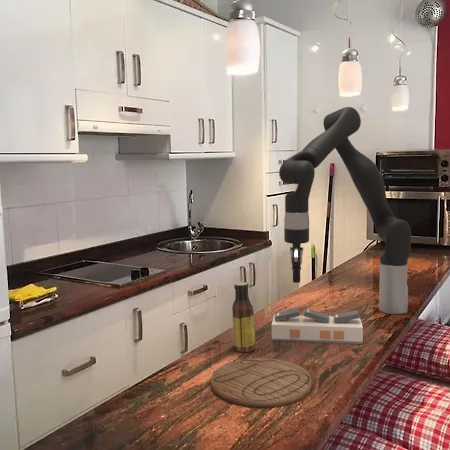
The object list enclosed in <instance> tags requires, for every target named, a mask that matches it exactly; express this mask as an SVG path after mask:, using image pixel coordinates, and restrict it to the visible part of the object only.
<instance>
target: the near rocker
mask: <svg viewBox="0 0 450 450" xmlns="http://www.w3.org/2000/svg"><path fill="white" fill-rule="evenodd" d="M332 316H333V317H334V322H335V323H338V322H343V321H346V322H348V321H349V320H353V319H358V318H360V319H361V316H360V314H359V311H358V309H355V310H350V311H345V312H339V313H335V314H333V315H332Z"/></svg>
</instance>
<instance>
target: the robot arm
mask: <svg viewBox="0 0 450 450" xmlns="http://www.w3.org/2000/svg"><path fill="white" fill-rule="evenodd" d="M322 122H323V128H324V132H322V133H321V134H319V135H317V136H316V137H315V138H313V139H312V140H310V142H308V144H307V145H305V147H303V148H302V150H301V151H299V152H297V153H295V154H294V155H291V156H290V157H288V158H286V159H285V160H284V161H283V163H282V164H281V166H280V167H279V172H278V175H279V178H280V181H282V183H285V184H288V185H297V187H296V189H295V191H289V192H287V193H286V194H285V196H284V197H285V198H284V199H285V200H284V202H285V203H284V220H283V221H284V222H283V223H284V225H283V226H284V228H283V229H284V231H283V233H284V234H283V235H284V236H283V238H284V239H283V240H284V242H285V243H287V244H292V246H290V249H289V255H290V263H291V270H292V283H294V284H300V283H301V270H302V267H301V266H302V264H303V254H304V247H303V246H302V247H301V245H302V244H307V243H309V242H310V215H309V214H310V213H309V197H310V194H311V191H312V186H313V183H314V180H315V169H317V168H318V167H319V166H320V165H321V164H322V162H323V161H324V160H325V159H326V158H327V157H328V156H329V155H330V154H331V153H332V152H333V151H334V150H336V151H337V153H338V155H339V157H340V158H341V160H342V162H343V164H344V166H345V168H346V170H347V172H348V173H349V175H350V178H351V180H352V182H353V184H354V186H355V188H356V190H357V191H358V194H359V195H360V198H361V200H362V202H363V204H364V205H365V207H366V208H367V211H368V212H369V215H370V217H371V219H372V220H371V221H372V223H373V225H374V228H375V231H376V233H377V235H378V237H379V239H380V240H381V241H383V242H384V243H385V245H384V252H383V253H382V254H381V255H380V257H379V287H378V288H379V294H378V296H379V298H378V301H379V302H378V310H379V312H381V313H384V314H388V315H389V314H390V315H401V314H408V308H409V307H408V304H409V303H408V302H409V301H408V300H409V299H408V297H409V294H408V293H409V286H408V263H409V262H408V260H409V257H410V254H411V246H412V229H411V226H410V224H409V223H408V221H406V220H404V219H401V218H397V217H396V216H395V215H394V213H393V210H392V209H391V207H390V205H389V203H388V200H387V195H386V193H387V192H386V186H385V181H384V179H383V177H382V174H381V173H380V171H379V168H378V166H377V164H375V162H374V161H373V160H371V158H369V157H368V156H366V155H364V153H362V152H360V150H358V149H356V148H355V146H354V145H353V144H352V142H351V141H350V139H349V137H351V136H352V135H353V134H355V133H356V132H358V130H360V127H361V124H362V123H361V122H362V120H361V115H360V114H359V112H358V111H357V109H356V108H355V107H352V106H346V107H342V108H340V109H337V110H336V111H333V112H330V113H329V114H327V115H325V117H324V119H323V121H322Z"/></svg>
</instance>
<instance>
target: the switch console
mask: <svg viewBox="0 0 450 450" xmlns="http://www.w3.org/2000/svg"><path fill="white" fill-rule="evenodd" d="M363 333H364V327H363V323H362V320H361V317H360V318H358V319H353V320H349V321H348V322H346V321H343V322H338V323H335V322H334V317H333V315H332V316H331V315H329V322H328V323H326V322H322V321H319V320H317V321H315V320H314V319H312V318H308V317H305V316H304V314H303V315H301V314H300V316H298V317H293V318H289V320H286V319H285V320H280V321H275V314H273V317H272V322H271V341H272V342H274V341H275V342H290V343H291V342H292V343H294V342H298V343H323V344H349V345H353V344H354V345H363V341H364V339H363V337H364V334H363Z"/></svg>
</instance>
